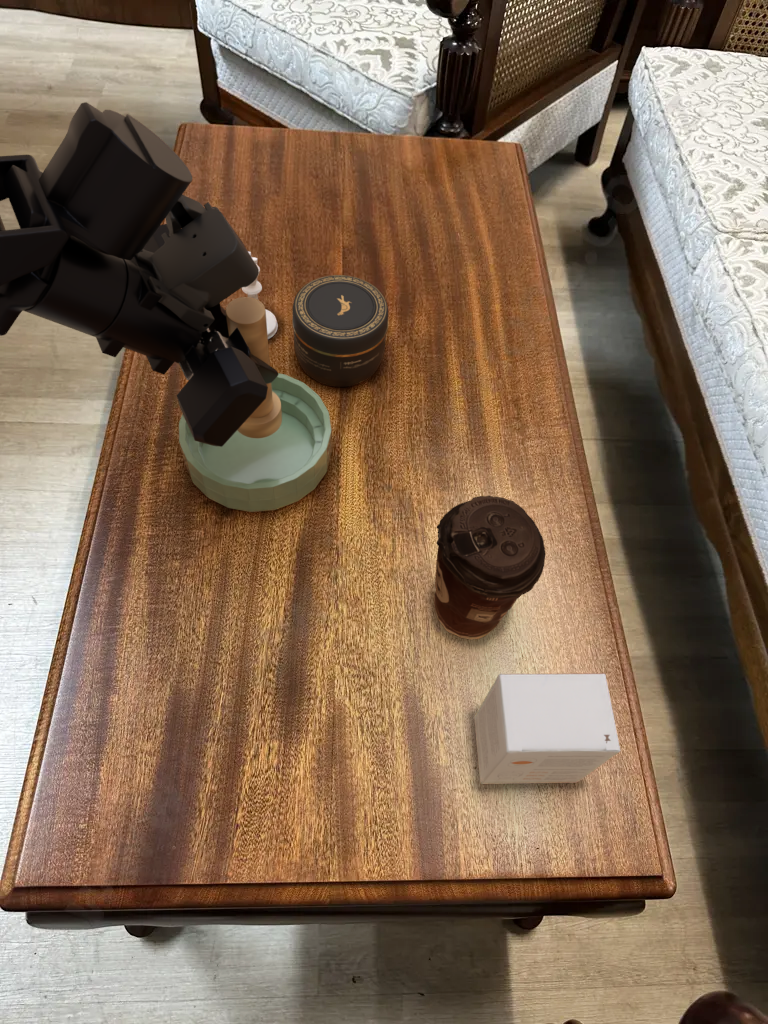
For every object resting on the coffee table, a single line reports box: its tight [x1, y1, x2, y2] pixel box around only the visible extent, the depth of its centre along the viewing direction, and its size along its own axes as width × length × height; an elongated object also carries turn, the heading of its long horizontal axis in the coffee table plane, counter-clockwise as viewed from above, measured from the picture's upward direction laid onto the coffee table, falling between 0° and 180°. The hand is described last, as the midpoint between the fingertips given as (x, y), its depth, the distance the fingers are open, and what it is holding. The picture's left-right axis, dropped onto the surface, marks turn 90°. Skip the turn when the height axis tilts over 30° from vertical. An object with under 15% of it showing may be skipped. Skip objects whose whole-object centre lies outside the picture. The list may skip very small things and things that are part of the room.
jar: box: [291, 274, 389, 388], centre depth 77 cm, size 10×10×8 cm
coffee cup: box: [433, 495, 546, 640], centre depth 59 cm, size 9×8×13 cm
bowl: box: [178, 372, 332, 513], centre depth 70 cm, size 14×14×4 cm
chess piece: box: [241, 251, 279, 340], centre depth 77 cm, size 5×5×10 cm
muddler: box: [225, 296, 282, 438], centre depth 60 cm, size 4×4×13 cm
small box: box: [473, 672, 621, 785], centre depth 54 cm, size 8×6×10 cm
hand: (267, 363), depth 60 cm, fingers closed on muddler, 3 cm apart
